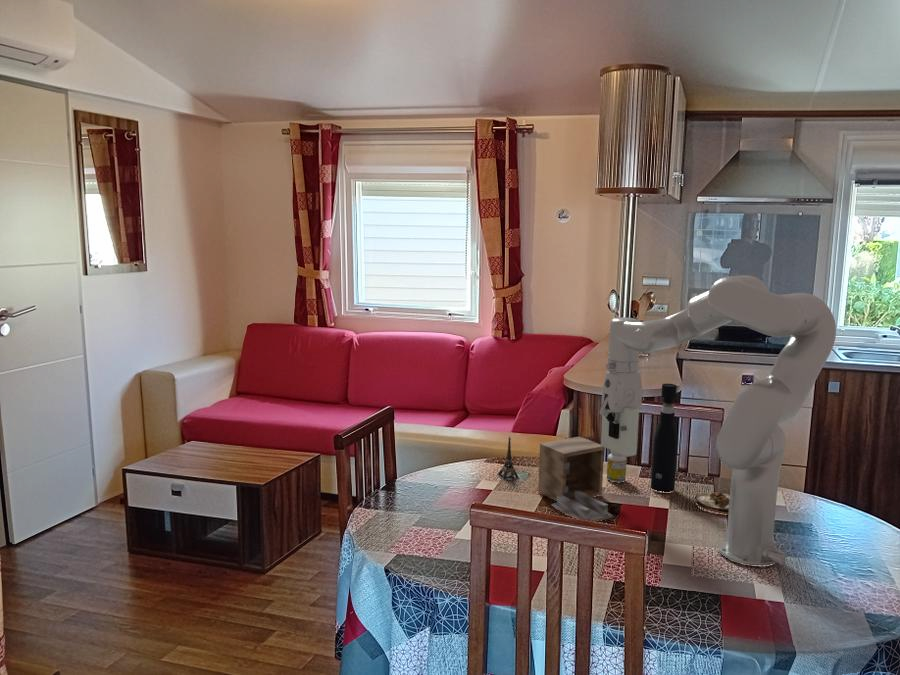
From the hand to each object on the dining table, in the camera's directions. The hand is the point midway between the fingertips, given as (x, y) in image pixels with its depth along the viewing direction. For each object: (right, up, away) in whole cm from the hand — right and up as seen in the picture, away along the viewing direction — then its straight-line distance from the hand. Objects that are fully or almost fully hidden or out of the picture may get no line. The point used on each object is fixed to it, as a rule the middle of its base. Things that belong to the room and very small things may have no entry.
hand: (618, 435), depth 185 cm
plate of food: (+28, -20, +4) cm, 34 cm away
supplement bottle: (+4, -16, +23) cm, 28 cm away
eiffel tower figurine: (-26, -16, +24) cm, 39 cm away
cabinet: (-9, -18, +5) cm, 21 cm away
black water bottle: (+16, -17, +16) cm, 28 cm away
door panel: (0, -4, +1) cm, 4 cm away
